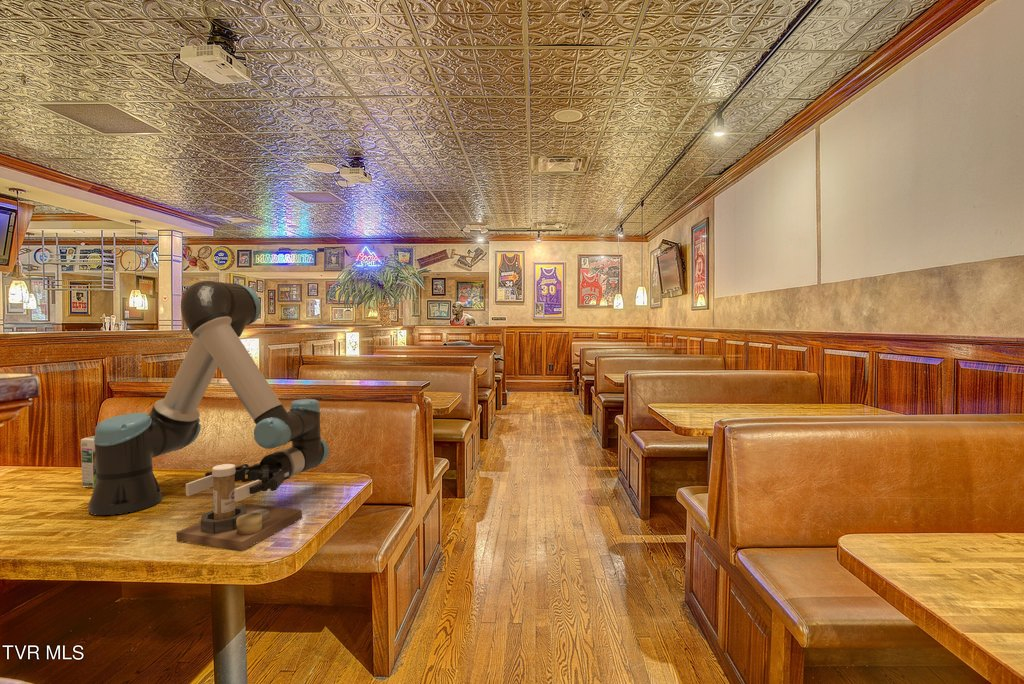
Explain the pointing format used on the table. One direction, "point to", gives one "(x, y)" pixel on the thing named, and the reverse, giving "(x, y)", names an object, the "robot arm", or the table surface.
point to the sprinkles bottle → (223, 491)
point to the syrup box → (88, 462)
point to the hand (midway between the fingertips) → (210, 492)
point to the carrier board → (238, 540)
